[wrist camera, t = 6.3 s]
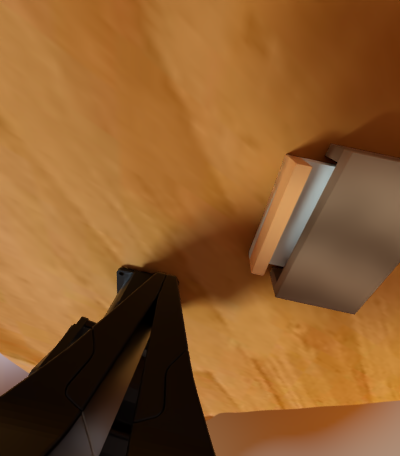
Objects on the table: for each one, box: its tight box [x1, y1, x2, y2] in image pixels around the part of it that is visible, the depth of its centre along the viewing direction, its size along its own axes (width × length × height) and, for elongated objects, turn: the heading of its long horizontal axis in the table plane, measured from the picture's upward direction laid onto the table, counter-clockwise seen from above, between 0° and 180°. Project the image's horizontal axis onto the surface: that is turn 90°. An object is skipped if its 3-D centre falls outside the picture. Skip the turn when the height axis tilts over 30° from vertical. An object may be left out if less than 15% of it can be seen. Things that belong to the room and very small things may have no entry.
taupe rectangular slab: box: [270, 144, 400, 314], centre depth 16 cm, size 12×7×3 cm, turn 170°
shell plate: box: [249, 154, 336, 276], centre depth 16 cm, size 9×8×3 cm
